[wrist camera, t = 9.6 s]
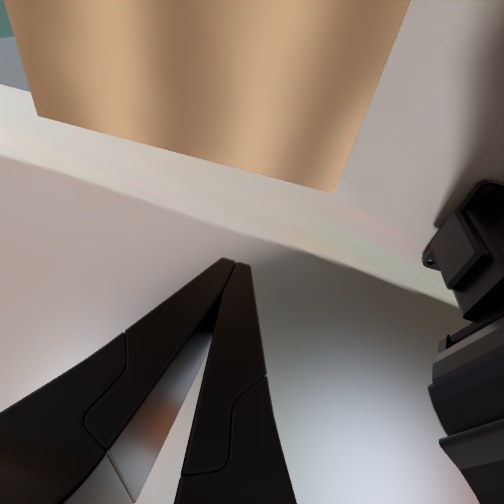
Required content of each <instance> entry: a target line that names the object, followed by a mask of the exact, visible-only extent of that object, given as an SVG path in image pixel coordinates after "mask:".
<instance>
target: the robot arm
mask: <svg viewBox="0 0 504 504" xmlns="http://www.w3.org/2000/svg"><path fill="white" fill-rule="evenodd" d="M486 187H490V189H489V190H487V191H485V192H482V190H483V189H484V188H486ZM431 259H433V261H428V260H431ZM422 262H423V265H424V266H425V267H427V268H431V269H434V270H438V271H441V273H442V276H443V279H444V282H445V284H446V287H447V288H448V289H449V290H453V292H454V295H455V297H456V300H457V303H458V305H459V308H460V310H461V313H462V316H463V318H464V319H466V320H469V321H473V322H472V323H471V324H469V325H467V326H466V327H464V328H462V329H461V330H459V331H457V332H456V333H454V334H452V335H447V336H445V337H443V338H442V339H440V341H439V350H438V356H437V358H436V360H435V361H434V363H433V375H432V381H433V383H432V384H430V385H429V386H428V393H429V396H430V400H431V403H432V407H433V410H434V412H435V414H436V416H437V418H438V421H439V423H440V425H441V427H442V428H443V430H444V432H445V434H446V435H447V437H444V438H441V439H439V444H440V446H441V448H442V449H443V450H444V452H445V453H446V454H447V455H448V456H449V458H450V459H451V460H452V461H453V463H454V464H455V465H456V466H457V467H458V469H459V470H460V471H461V473H462V474H463V476H464V478H465V479H466V481H467V482H468V484H469V486H470V487H471V489H472V490H473V492H474V493H475V495H476V497H477V499H478V501H479V503H480V504H504V183H503V182H499V181H495V180H490V179H486V180H482V181H480V182H478V183H477V184H476V185H475V187H474V188H473V189H472V191H471V192H470V194H469V195H468V196H467V198H466V199H465V200H464V202H463V203H462V204H461V206H460V207H459V208H458V210H456V211H454V212H453V213H452V214H451V215H450V217H449V218H448V219H447V221H446V222H445V224H444V225H443V226H442V228H441V229H440V230H439V232H438V233H437V234H436V236H435V237H434V238H433V240H432V241H431V246H430V247H429V249H428V250H427V251H426V253H425V254H424V255H423V257H422ZM208 350H209V353H208V357H207V362H206V366H205V370H204V375H203V379H202V383H201V388H200V392H199V396H198V401H197V405H196V410H195V414H194V418H193V423H192V427H191V431H190V436H189V440H188V444H187V449H186V453H185V457H184V462H183V466H182V470H181V478H180V480H179V484H178V488H177V493H176V496H175V500H174V504H297V503H296V499H295V495H294V491H293V487H292V484H291V480H290V476H289V473H288V469H287V465H286V462H285V458H284V454H283V451H282V447H281V443H280V439H279V435H278V431H277V426H276V422H275V418H274V413H273V407H272V402H271V396H270V390H269V383H268V377H267V376H266V375H267V371H266V364H265V357H264V350H263V343H262V336H261V329H260V323H259V316H258V310H257V302H256V295H255V288H254V282H253V275H252V268H251V266H250V265H249V264H246V263H242V262H237V263H236V262H235V260H231V259H228V258H224V257H223V258H220V259H219V260H218V261H216V262H215V263H214V264H212V265H211V266H210V267H208V268H207V269H206V270H204V271H203V272H202V273H200V274H199V275H198V276H196V277H195V278H194V279H193V280H191V281H190V282H189V283H187V284H186V285H185V286H183V287H182V288H181V289H179V290H178V291H177V292H175V293H174V294H173V295H172V296H170V297H169V298H167V299H166V300H165V301H163V302H162V303H161V304H159V305H158V306H157V307H155V308H154V309H153V310H151V311H150V312H149V313H147V314H146V315H145V316H144V317H142V318H141V319H140V320H138V321H137V322H136V323H134V324H133V325H132V326H130V327H129V328H128V329H126V330H125V333H121V334H120V335H118V336H117V337H115V338H114V339H113V340H112V341H110V342H109V343H108V344H106V345H105V346H103V347H102V348H101V349H99V350H98V351H96V352H95V353H94V354H92V355H91V356H89V357H88V358H86V359H85V360H83V361H82V362H80V363H79V364H77V365H76V366H74V367H72V368H71V369H69V370H68V371H66V372H65V373H63V374H62V375H60V376H58V377H57V378H55V379H54V380H52V381H51V382H49V383H47V384H45V385H44V386H42V387H41V388H39V389H37V390H36V391H34V392H32V393H31V394H29V395H28V396H26V397H25V398H23V399H21V400H20V401H18V402H17V403H15V404H13V405H11V406H10V407H8V408H7V409H5V410H3V411H2V412H0V504H134V503H135V502H136V500H137V498H138V496H139V494H140V492H141V490H142V488H143V486H144V484H145V481H146V480H147V478H148V475H149V473H150V471H151V469H152V467H153V465H154V463H155V461H156V459H157V457H158V454H159V452H160V450H161V448H162V446H163V444H164V442H165V440H166V438H167V436H168V434H169V431H170V429H171V427H172V425H173V423H174V421H175V419H176V417H177V415H178V412H179V410H180V408H181V406H182V404H183V402H184V400H185V398H186V396H187V394H188V392H189V390H190V387H191V385H192V383H193V381H194V379H195V377H196V375H197V373H198V371H199V369H200V367H201V364H202V362H203V360H204V358H205V356H206V354H207V352H208Z"/></svg>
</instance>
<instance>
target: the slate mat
mask: <svg viewBox="0 0 504 504" xmlns="http://www.w3.org/2000/svg"><path fill="white" fill-rule="evenodd" d="M0 84H2V85H6V86H10V87H14V88H18V89H22V90H25V91H29V92H31V91H30V88H29V84H28V81H27V77H26V74H25V71H24V67H23V64H22V61H21V57H20V54H19V51H18V47H17V44H16V40H15V37H6V38H0Z"/></svg>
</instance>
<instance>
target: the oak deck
mask: <svg viewBox="0 0 504 504" xmlns="http://www.w3.org/2000/svg"><path fill="white" fill-rule="evenodd" d="M410 1H411V0H4V3H5V7H6V10H7V14H8V17H9V20H10V24H11V27H12V30H13V34H14V37H15V40H16V44H17V47H18V51H19V54H20V57H21V61H22V64H23V67H24V71H25V74H26V77H27V81H28V84H29V88H30V91H31V94H32V98H33V101H34V104H35V108H36V111H37V114H38V116H40V117H44V118H48V119H52V120H56V121H59V122H63V123H67V124H71V125H75V126H78V127H82V128H86V129H90V130H94V131H97V132H101V133H105V134H109V135H113V136H116V137H120V138H124V139H128V140H132V141H135V142H139V143H143V144H147V145H151V146H154V147H158V148H162V149H166V150H169V151H173V152H177V153H181V154H185V155H188V156H192V157H196V158H200V159H204V160H207V161H211V162H215V163H219V164H223V165H226V166H230V167H234V168H238V169H242V170H245V171H249V172H253V173H257V174H261V175H264V176H268V177H272V178H276V179H280V180H283V181H287V182H291V183H295V184H299V185H302V186H306V187H310V188H314V189H318V190H321V191H325V192H329V193H333V194H334V192H335V190H336V187H337V184H338V182H339V179H340V177H341V174H342V172H343V169H344V167H345V164H346V162H347V159H348V157H349V154H350V152H351V149H352V147H353V144H354V142H355V139H356V137H357V134H358V132H359V129H360V127H361V124H362V122H363V119H364V117H365V114H366V112H367V109H368V107H369V104H370V102H371V99H372V97H373V94H374V92H375V89H376V87H377V84H378V81H379V79H380V76H381V74H382V71H383V69H384V66H385V64H386V61H387V59H388V56H389V54H390V51H391V49H392V46H393V44H394V41H395V39H396V36H397V34H398V31H399V29H400V26H401V24H402V21H403V19H404V16H405V14H406V11H407V9H408V6H409V4H410Z"/></svg>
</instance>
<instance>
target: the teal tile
mask: <svg viewBox="0 0 504 504" xmlns="http://www.w3.org/2000/svg"><path fill="white" fill-rule="evenodd" d="M6 37H14V34H13V30H12V27H11V24H10V20H9V17H8V14H7V10H6V7H5V3H4V0H0V38H6Z"/></svg>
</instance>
